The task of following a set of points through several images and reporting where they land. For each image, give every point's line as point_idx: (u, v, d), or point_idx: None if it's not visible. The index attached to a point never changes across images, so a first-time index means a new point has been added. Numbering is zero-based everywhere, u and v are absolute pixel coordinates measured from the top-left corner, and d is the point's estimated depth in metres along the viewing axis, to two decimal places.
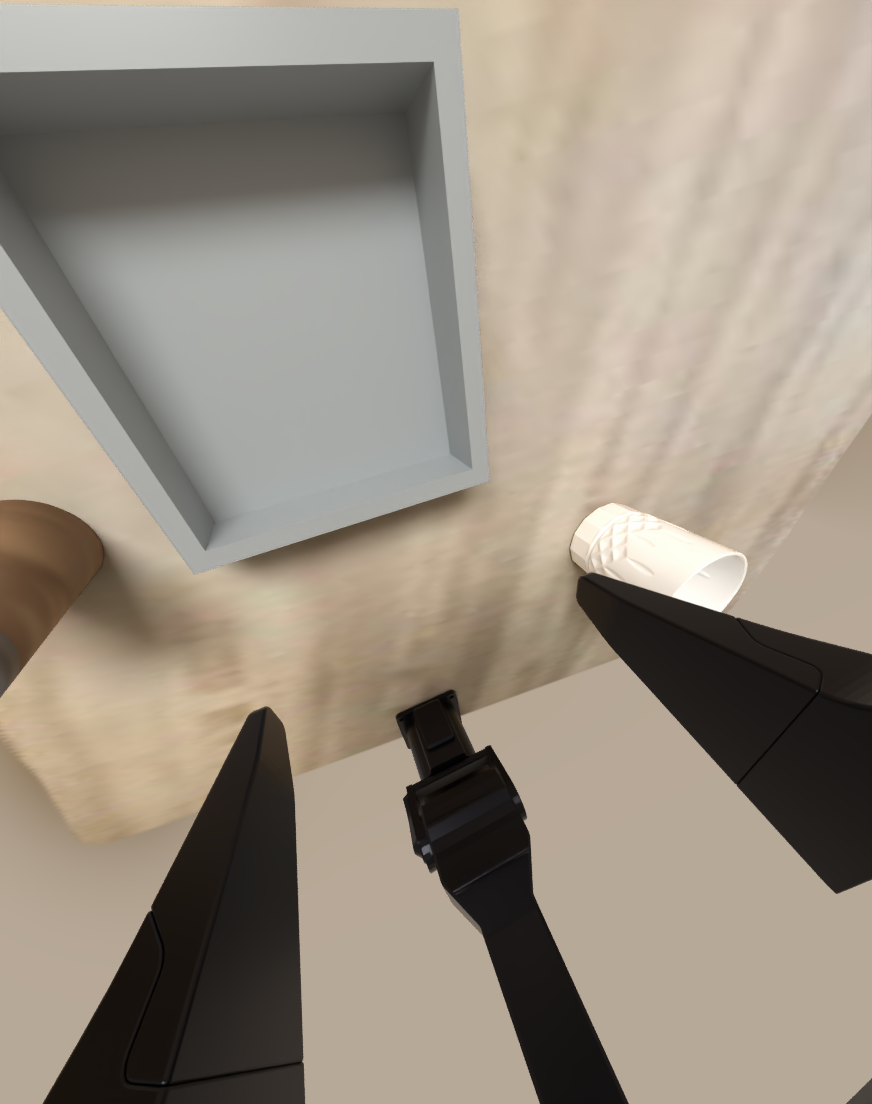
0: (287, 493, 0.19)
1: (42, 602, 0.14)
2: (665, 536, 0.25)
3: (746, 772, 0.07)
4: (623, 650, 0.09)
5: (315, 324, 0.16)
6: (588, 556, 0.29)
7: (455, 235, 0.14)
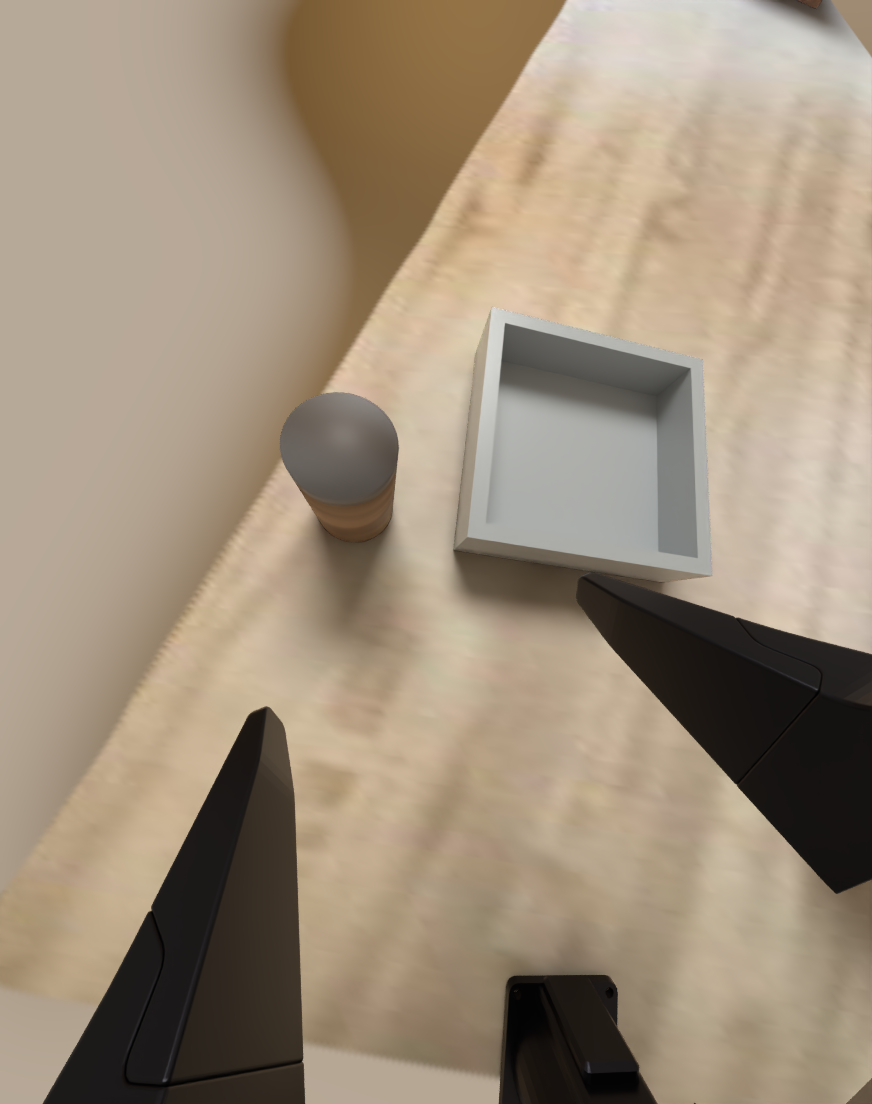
0: None
1: (393, 489, 0.18)
2: None
3: (745, 772, 0.07)
4: (623, 650, 0.09)
5: (588, 453, 0.26)
6: None
7: (695, 421, 0.24)
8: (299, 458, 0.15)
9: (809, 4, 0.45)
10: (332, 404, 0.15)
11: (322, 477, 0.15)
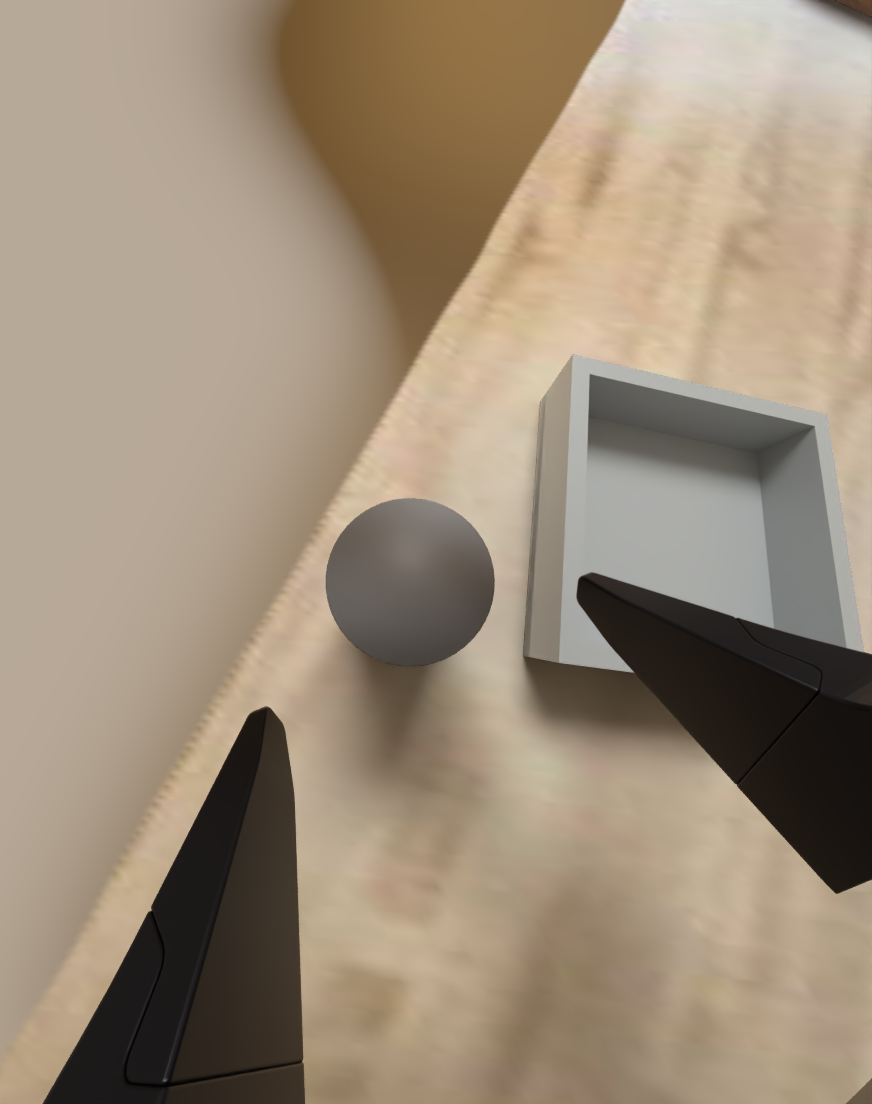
0: None
1: None
2: None
3: (746, 772, 0.07)
4: (623, 650, 0.09)
5: (682, 526, 0.21)
6: None
7: (828, 494, 0.19)
8: (353, 603, 0.10)
9: (869, 14, 0.41)
10: (399, 516, 0.11)
11: (387, 632, 0.10)
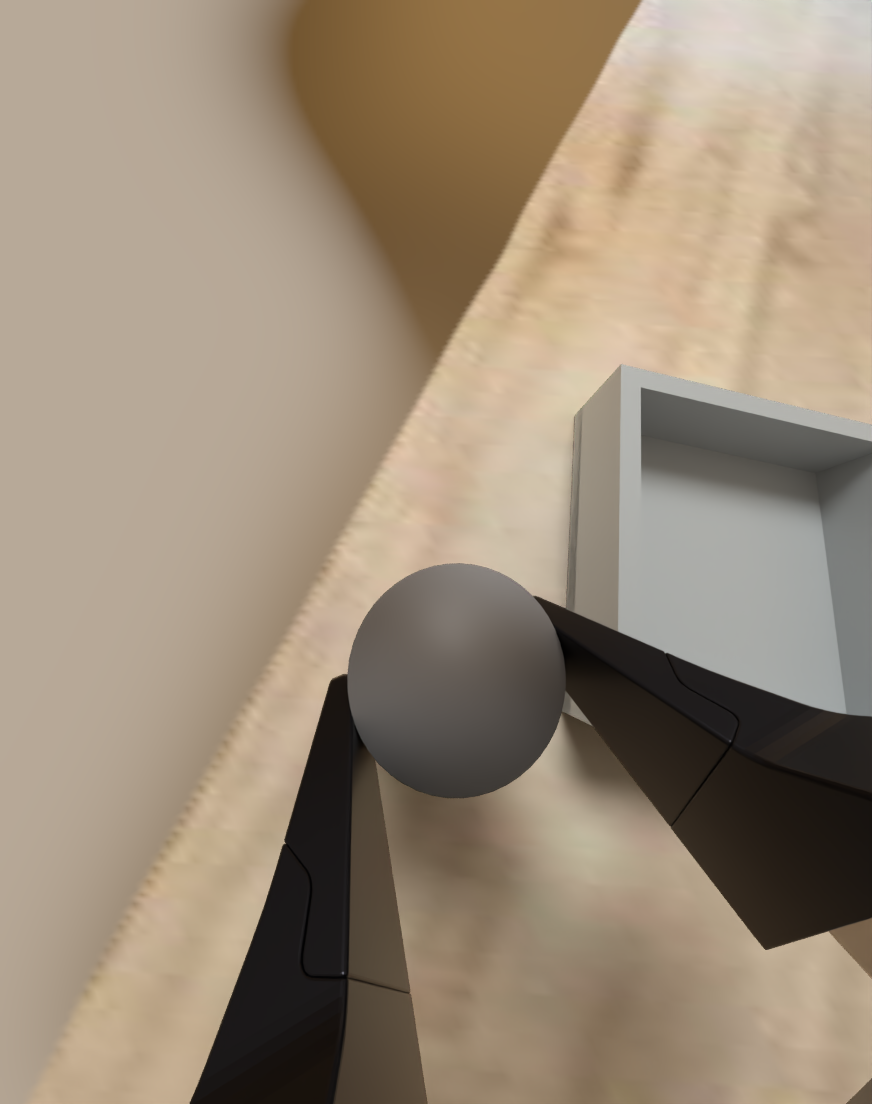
0: None
1: None
2: None
3: (676, 816, 0.07)
4: None
5: (737, 558, 0.19)
6: None
7: None
8: (385, 712, 0.07)
9: None
10: (441, 588, 0.08)
11: (430, 751, 0.07)
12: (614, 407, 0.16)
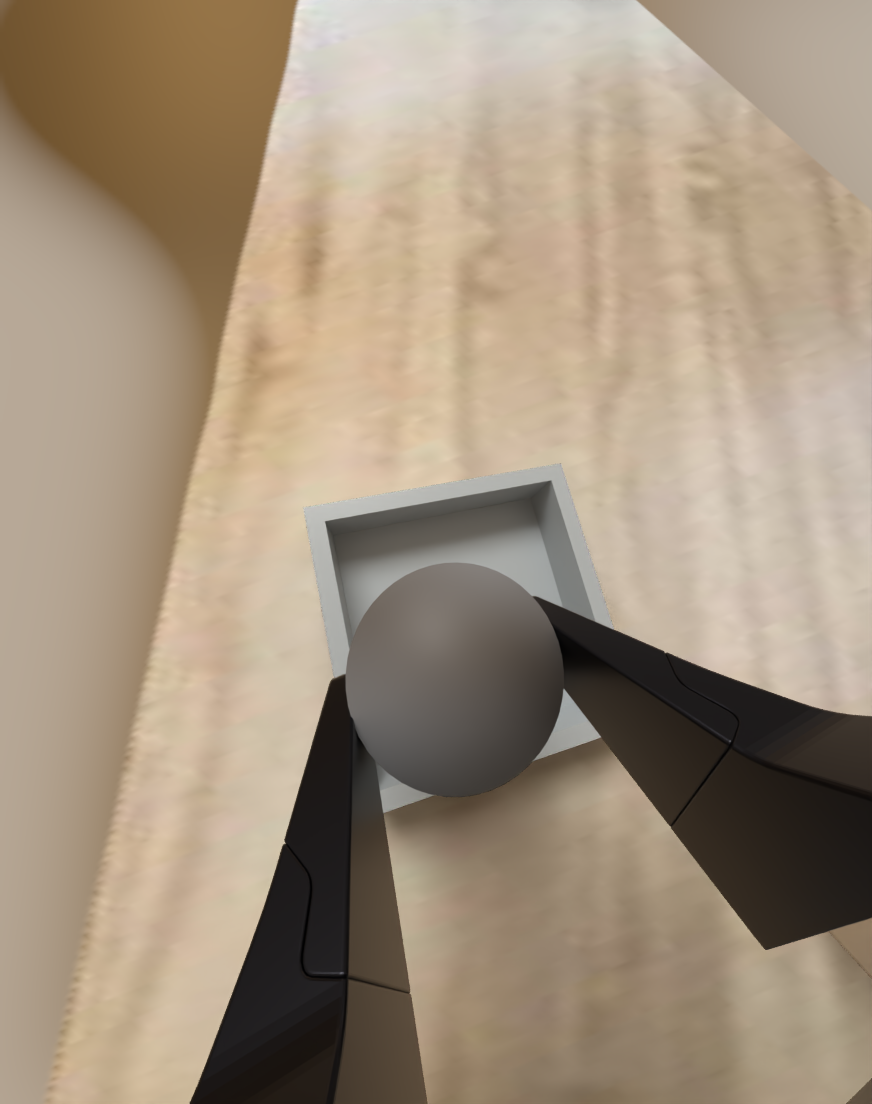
0: None
1: None
2: None
3: (677, 816, 0.07)
4: None
5: None
6: None
7: (574, 543, 0.21)
8: (383, 711, 0.07)
9: None
10: (439, 587, 0.08)
11: (428, 750, 0.07)
12: None
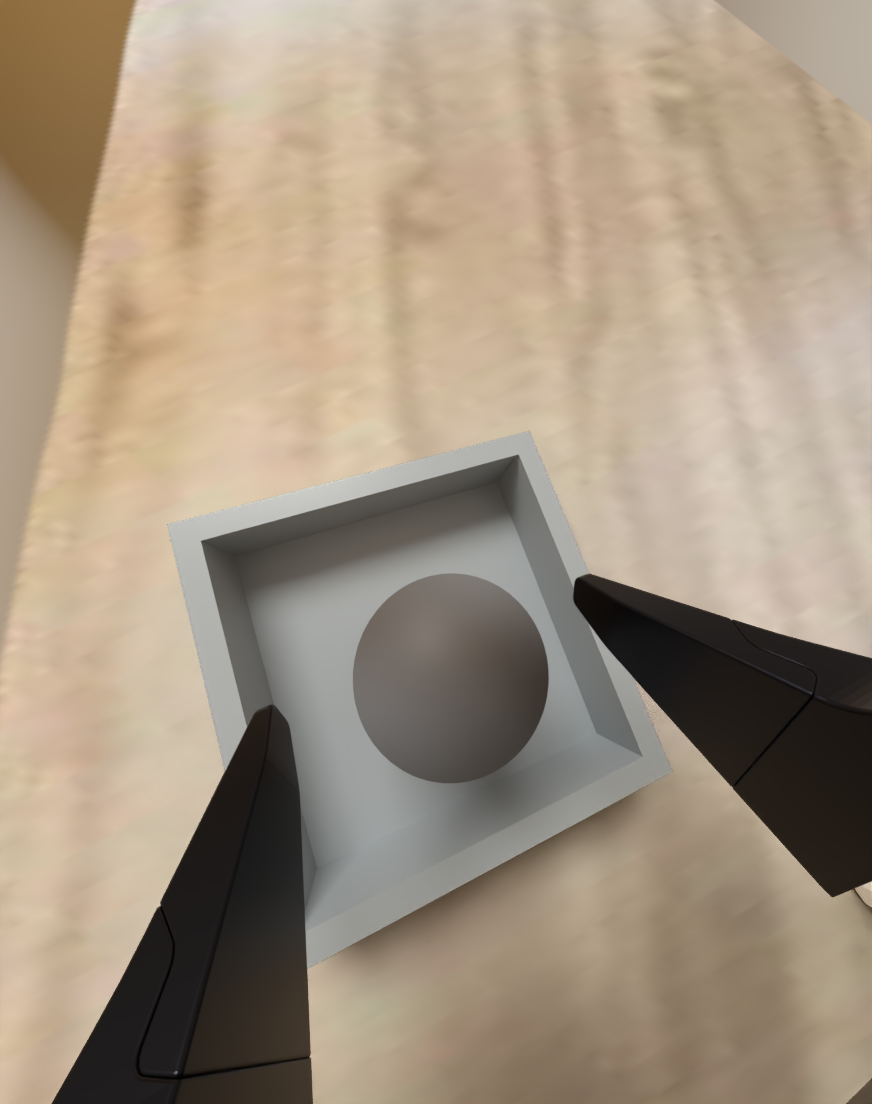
0: (405, 814, 0.15)
1: None
2: None
3: (742, 775, 0.07)
4: (619, 652, 0.09)
5: None
6: None
7: (557, 535, 0.16)
8: (386, 707, 0.08)
9: None
10: (437, 596, 0.09)
11: (427, 741, 0.08)
12: None
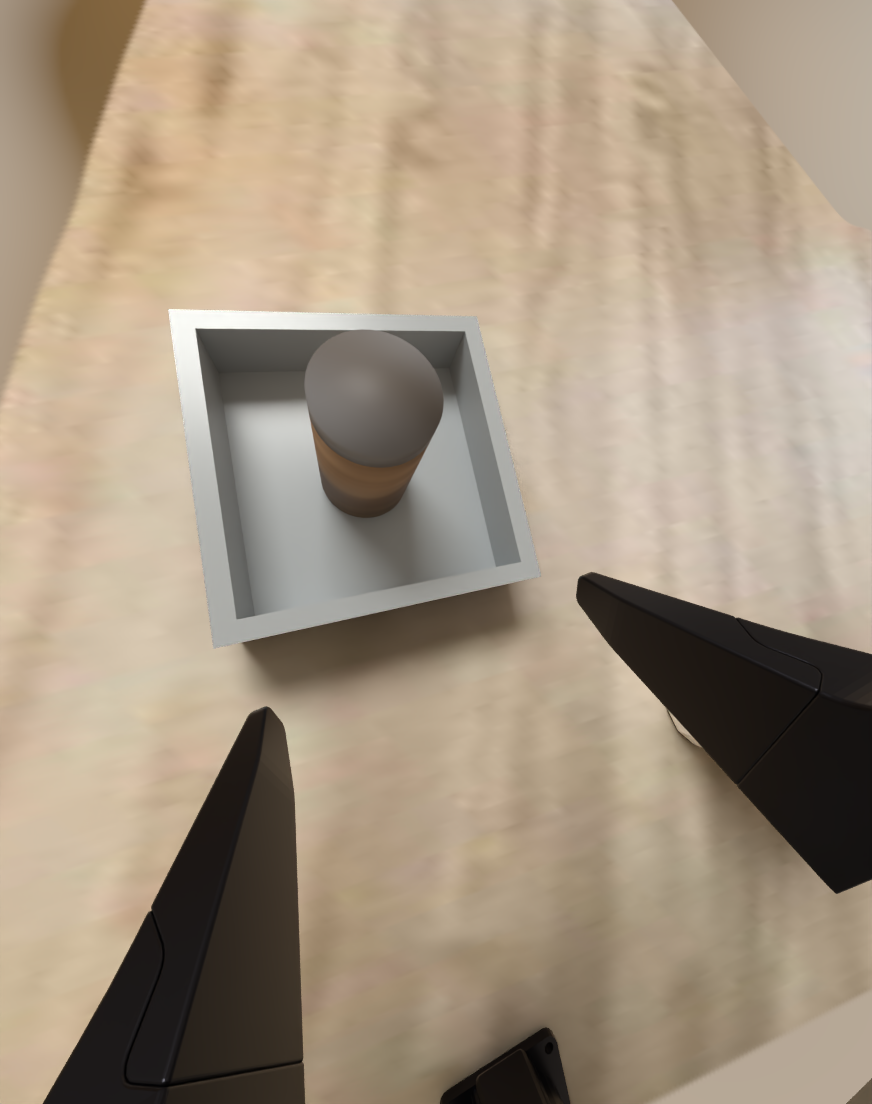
0: (333, 594, 0.19)
1: (420, 460, 0.16)
2: None
3: (745, 772, 0.07)
4: (623, 650, 0.09)
5: None
6: None
7: (484, 396, 0.20)
8: (326, 398, 0.12)
9: None
10: (373, 343, 0.13)
11: (351, 425, 0.12)
12: None
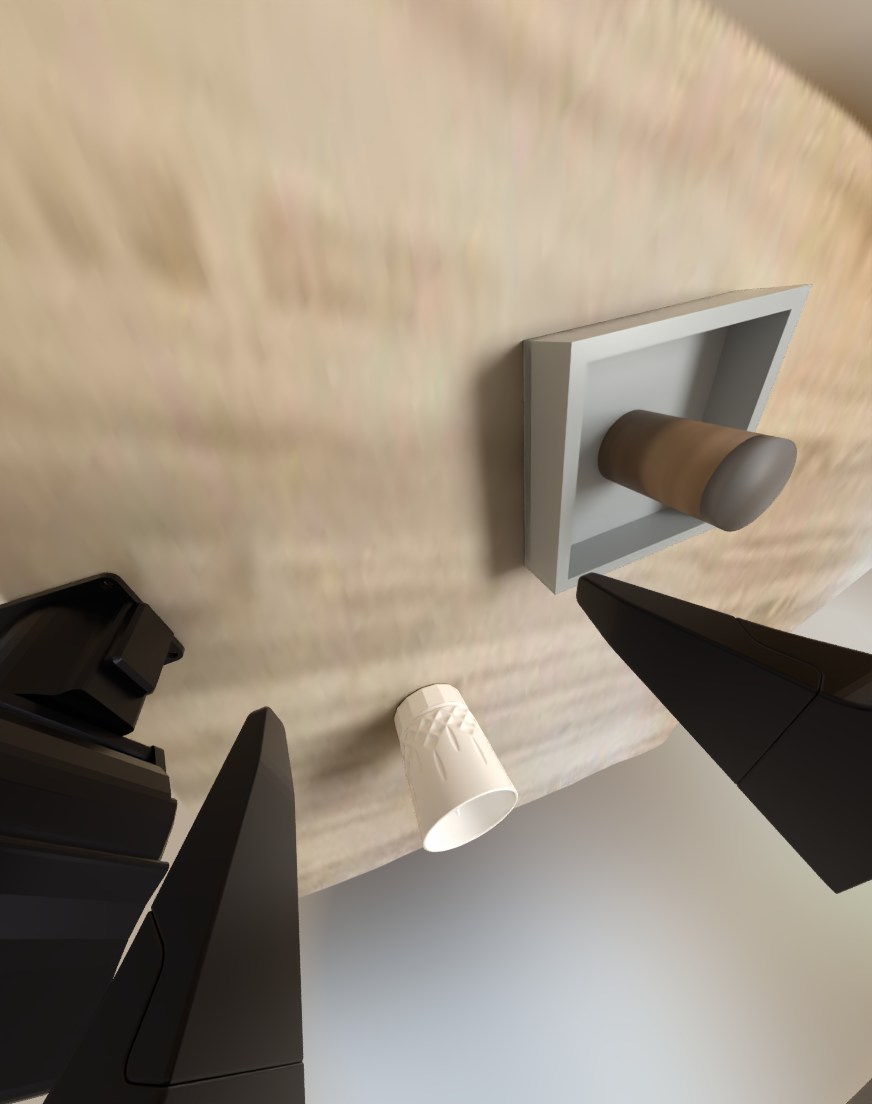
0: None
1: (672, 507, 0.21)
2: (493, 750, 0.29)
3: (746, 772, 0.07)
4: (623, 650, 0.09)
5: None
6: (435, 707, 0.30)
7: (672, 538, 0.27)
8: (768, 455, 0.17)
9: None
10: (781, 481, 0.18)
11: (747, 474, 0.17)
12: (778, 290, 0.19)
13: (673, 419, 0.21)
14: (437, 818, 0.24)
